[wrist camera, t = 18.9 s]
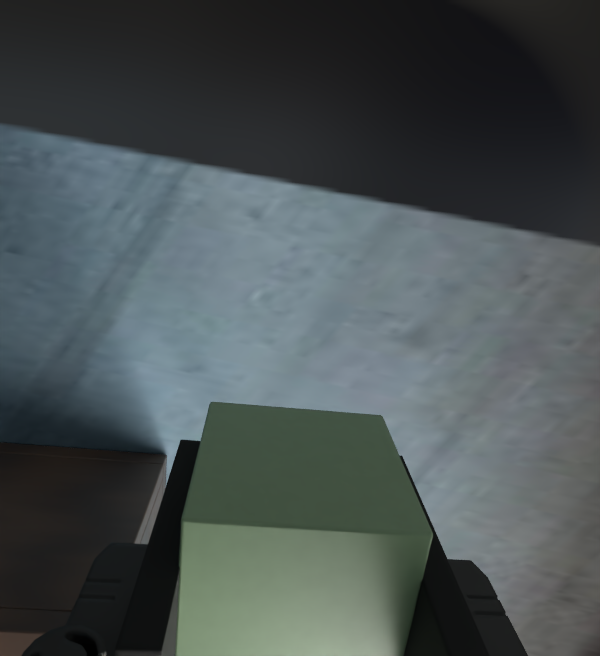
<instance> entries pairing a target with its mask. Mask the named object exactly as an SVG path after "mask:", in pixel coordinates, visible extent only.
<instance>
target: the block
mask: <svg viewBox="0 0 600 656" xmlns="http://www.w3.org/2000/svg"><path fill="white" fill-rule="evenodd" d="M432 538H433V533H432V530H431V528H430V526H429V523H428V521H427V519H426V516H425V514H424V512H423V509H422V507H421V505H420V502H419V500H418V498H417V495H416V493H415V491H414V488H413V486H412V484H411V482H410V479H409V477H408V475H407V472H406V470H405V468H404V465H403V463H402V461H401V458H400V456H399V454H398V451H397V449H396V447H395V444H394V442H393V440H392V437H391V435H390V433H389V430H388V428H387V426H386V423H385V421H384V419H383V417H382V416H381V415H371V414H358V413H346V412H333V411H321V410H309V409H296V408H284V407H271V406H259V405H246V404H234V403H221V402H211V403H210V405H209V409H208V413H207V417H206V421H205V425H204V429H203V433H202V437H201V441H200V445H199V449H198V454H197V458H196V462H195V466H194V470H193V474H192V478H191V482H190V486H189V490H188V494H187V498H186V502H185V506H184V510H183V514H182V518H181V531H180V550H179V567H180V574H179V593H178V611H177V629H176V647H175V656H404V653H405V649H406V645H407V640H408V636H409V632H410V628H411V624H412V620H413V616H414V611H415V607H416V603H417V599H418V595H419V591H420V587H421V582H422V579H423V575H424V571H425V567H426V563H427V559H428V555H429V550H430V546H431V542H432Z"/></svg>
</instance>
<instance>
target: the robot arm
mask: <svg viewBox="0 0 600 656" xmlns="http://www.w3.org/2000/svg"><path fill="white" fill-rule="evenodd" d="M199 445H200V441H191V440H181V441H180V444H179V447H178V450H177V454H176V457H175V460H174V463H173V466H172V469H171V473H170V476H169V479H168V482H167V485H166V488H165V492H164V495H163V498H162V501H161V504H160V507H159V511H158V514H157V517H156V520H155V523H154V526H153V530H152V533H151V536H150V539H149V542H148V544H134V543H116V542H111V543H110V544H109V545H108V546H107V547H106V548H105V549H104V550H103V551H102V552H101V553H100V554H99V555H98V556H97V557H96V558H95V559H94V561H93V563H92V566H91V568H90V570H89V572H88V575H87V577H86V581H85V582H84V584H83V586H82V588H81V591H80V593H79V597H78V598H77V600H76V602H75V605H74V607H73V609H72V611H71V614H70V616H69V618H68V621H67V623H66V625H65V626H61V627H58V628H55V629H52V630H49V631H48V632H46V633H45V634H43V635H41V636H40V637H38V638H37V639H35V640H34V641H33V642H32V643H31V644H30V646H29V647H28V648H27V649H26V650H25V651H24V652H23V653H22V656H175V647H176V629H177V611H178V593H179V574H180V567H179V550H180V531H181V518H182V514H183V510H184V506H185V502H186V498H187V494H188V490H189V486H190V482H191V478H192V474H193V470H194V466H195V462H196V458H197V454H198V449H199ZM400 458H401V461H402V463H403V465H404V468H405V470H406V472H407V475H408V477H409V479H410V482H411V484H412V486H413V488H414V491H415V493H416V495H417V498H418V500H419V502H420V505H421V507H422V509H423V512H424V514H425V516H426V519H427V521H428V523H429V526H430V528H431V530H432V533H433V538H432V542H431V546H430V550H429V555H428V559H427V563H426V567H425V571H424V575H423V579H422V582H421V587H420V591H419V595H418V599H417V603H416V607H415V611H414V616H413V620H412V624H411V628H410V632H409V636H408V640H407V645H406V649H405V653H404V656H528V655H527V653H526V651H525V649H524V647H523V645H522V643H521V641H520V639H519V637H518V635H517V633H516V632H515V630H514V628H513V626H512V624H511V622H510V620H509V618H508V616H506V615H505V610H504V608H503V606H502V604H501V602H500V601H499V600H498V599H497V595H496V593H495V591H494V589H493V587H492V585H491V583H490V581H489V579H488V577H487V576H486V575H485V574H484V573H483V572H482V571H481V570H480V569H479V568H478V567H477V566H476V565H475V564H474V563H473V562H472V561H470V560H452V559H447V557H446V555H445V553H444V550H443V548H442V546H441V544H440V541H439V539H438V537H437V535H436V532H435V530H434V528H433V525H432V523H431V521H430V519H429V516H428V514H427V512H426V509H425V507H424V505H423V503H422V500H421V498H420V496H419V493H418V491H417V489H416V487H415V484H414V482H413V480H412V478H411V475H410V473H409V471H408V468H407V466H406V464H405V462H404V459H403V457H402V456H400Z"/></svg>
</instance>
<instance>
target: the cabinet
mask: <svg viewBox="0 0 600 656" xmlns="http://www.w3.org/2000/svg"><path fill="white" fill-rule="evenodd" d="M166 464H167V455H162V454H149V453H136V452H122V451H109V450H96V449H82V448H69V447H56V446H42V445H29V444H16V443H2V442H0V656H22V653H23V652H24V651H25V650H26V649H27V648H28V647H29V646H30V644H31V643H32V642H33V641H34V640H35V639H37V638H38V637H40V636H41V635H43V634H45V633H46V632H48V631H49V630H52V629H55V628H58V627H61V626H65V625H66V623H67V621H68V618H69V616H70V614H71V611H72V609H73V607H74V605H75V602H76V600H77V598H78V597H79V593H80V591H81V588H82V586H83V584H84V582H85V581H86V577H87V575H88V572H89V570H90V568H91V566H92V563H93V561H94V559H95V558H96V557H97V556H98V555H99V554H100V553H101V552H102V551H103V550H104V549H105V548H106V547H107V546H108V545H109V544H110V543H111V542H116V543H134V544H148V542H149V539H150V536H151V533H152V530H153V526H154V523H155V520H156V517H157V514H158V511H159V507H160V504H161V501H162V498H163V495H164V492H165V487H166Z"/></svg>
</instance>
